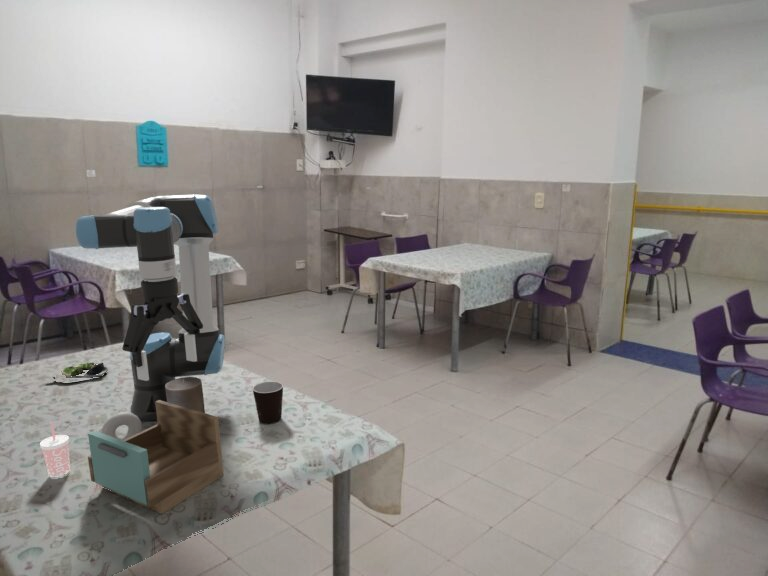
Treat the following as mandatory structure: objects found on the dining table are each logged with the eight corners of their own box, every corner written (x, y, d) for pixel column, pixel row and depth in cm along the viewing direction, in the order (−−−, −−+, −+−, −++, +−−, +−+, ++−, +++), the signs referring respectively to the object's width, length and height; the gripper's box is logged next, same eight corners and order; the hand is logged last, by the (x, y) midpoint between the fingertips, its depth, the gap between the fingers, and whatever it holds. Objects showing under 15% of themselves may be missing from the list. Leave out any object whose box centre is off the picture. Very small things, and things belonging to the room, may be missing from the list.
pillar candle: (208, 419, 166) (203, 370, 162) (204, 434, 156) (198, 383, 153) (174, 423, 164) (168, 374, 161) (167, 438, 155) (160, 386, 152)
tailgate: (90, 484, 127) (83, 435, 125) (101, 479, 129) (94, 430, 127) (142, 507, 118) (135, 455, 115) (153, 501, 120) (147, 449, 118)
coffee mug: (278, 427, 160) (276, 393, 158) (250, 424, 162) (247, 392, 159) (293, 409, 171) (291, 378, 169) (266, 407, 173) (264, 376, 171)
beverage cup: (43, 483, 133) (34, 428, 130) (47, 471, 139) (38, 418, 136) (72, 477, 136) (64, 423, 133) (75, 465, 141) (67, 413, 138)
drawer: (92, 492, 129) (84, 432, 126) (165, 454, 146) (159, 399, 143) (152, 519, 119) (144, 454, 116) (223, 475, 135) (218, 417, 132)
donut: (105, 456, 145) (100, 420, 143) (102, 451, 148) (97, 416, 146) (145, 444, 152) (141, 409, 149) (141, 439, 154) (137, 405, 152)
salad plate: (49, 392, 190) (47, 379, 189) (42, 376, 204) (40, 364, 203) (112, 378, 201) (110, 365, 200) (101, 364, 215) (100, 353, 214)
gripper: (120, 290, 113) (132, 391, 117) (213, 269, 134) (220, 355, 138) (96, 287, 116) (109, 385, 121) (190, 267, 137) (198, 351, 142)
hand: (168, 369), depth 129 cm, fingers open, 13 cm apart
